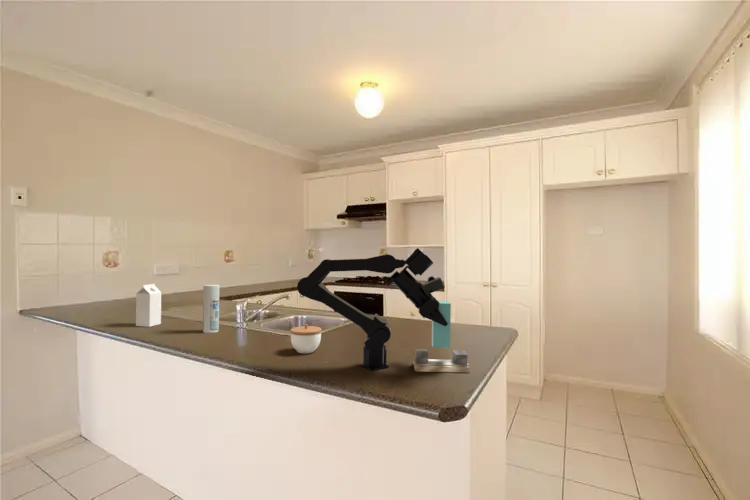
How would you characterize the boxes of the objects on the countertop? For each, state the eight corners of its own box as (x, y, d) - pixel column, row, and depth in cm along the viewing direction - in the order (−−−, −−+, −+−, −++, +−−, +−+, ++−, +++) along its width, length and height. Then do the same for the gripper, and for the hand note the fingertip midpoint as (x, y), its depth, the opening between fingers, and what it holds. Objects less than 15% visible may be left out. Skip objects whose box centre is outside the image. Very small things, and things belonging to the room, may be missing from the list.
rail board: (414, 371, 109) (414, 354, 109) (413, 364, 116) (413, 348, 116) (469, 372, 108) (469, 355, 108) (464, 365, 115) (465, 349, 115)
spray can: (208, 329, 163) (209, 284, 164) (222, 330, 162) (222, 284, 162) (199, 332, 157) (199, 285, 157) (212, 333, 156) (213, 285, 156)
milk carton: (135, 326, 168) (136, 284, 169) (147, 323, 175) (148, 283, 176) (149, 327, 167) (150, 285, 167) (161, 324, 174) (161, 283, 174)
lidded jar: (327, 350, 131) (327, 323, 131) (305, 357, 122) (305, 328, 122) (306, 345, 137) (306, 320, 137) (283, 351, 128) (283, 324, 129)
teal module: (433, 347, 110) (433, 303, 110) (431, 343, 114) (432, 301, 115) (450, 347, 110) (450, 303, 110) (447, 344, 114) (448, 302, 114)
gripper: (432, 269, 103) (471, 309, 103) (425, 266, 122) (458, 301, 121) (403, 297, 103) (442, 337, 103) (401, 290, 122) (434, 324, 121)
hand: (445, 323), depth 112 cm, fingers closed on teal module, 4 cm apart
